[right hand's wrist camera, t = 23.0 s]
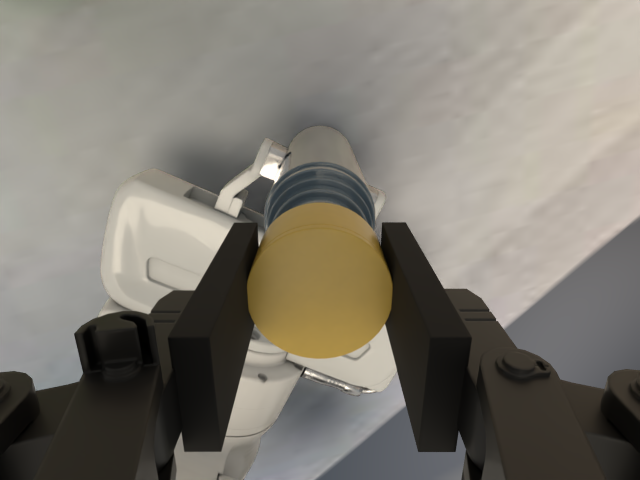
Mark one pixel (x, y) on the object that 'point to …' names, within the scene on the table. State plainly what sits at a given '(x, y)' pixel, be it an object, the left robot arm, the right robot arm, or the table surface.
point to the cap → (319, 282)
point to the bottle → (319, 176)
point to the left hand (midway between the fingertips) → (325, 166)
